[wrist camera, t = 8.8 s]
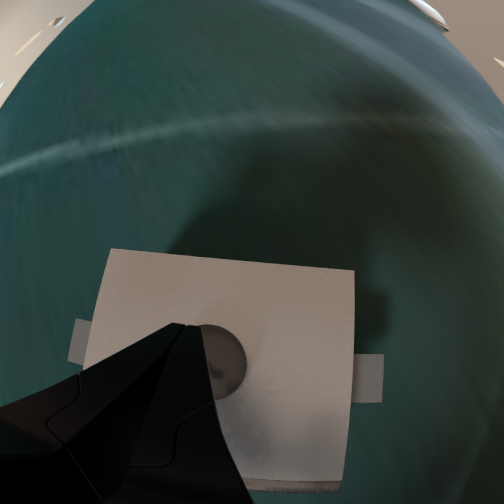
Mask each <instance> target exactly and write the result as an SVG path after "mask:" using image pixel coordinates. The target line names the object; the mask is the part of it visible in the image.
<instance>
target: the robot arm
mask: <svg viewBox="0 0 504 504" xmlns="http://www.w3.org/2000/svg"><path fill="white" fill-rule="evenodd" d="M0 504H255V502H254V501H253V499H252V497H251V495H250V493H249V491H248V489H247V487H246V485H245V483H244V481H243V479H242V477H241V475H240V473H239V470H238V468H237V466H236V464H235V462H234V459H233V457H232V455H231V453H230V450H229V448H228V445H227V443H226V440H225V437H224V435H223V432H222V428H221V424H220V420H219V416H218V411H217V407H216V402H215V397H214V392H213V387H212V381H211V376H210V371H209V365H208V359H207V354H206V348H205V342H204V336H203V330H202V327H201V326H196V325H187V326H186V325H185V324H181V323H174V322H172V323H170V324H168V325H166V326H164V327H162V328H161V329H159V330H157V331H155V332H153V333H152V334H150V335H148V336H146V337H144V338H142V339H141V340H139V341H137V342H135V343H133V344H131V345H129V346H128V347H126V348H124V349H122V350H120V351H118V352H117V353H115V354H113V355H111V356H109V357H107V358H105V359H103V360H102V361H100V362H98V363H96V364H94V365H92V366H90V367H88V368H87V369H85V370H83V371H81V372H79V374H75V375H73V376H71V377H69V378H67V379H65V380H63V381H61V382H59V383H57V384H55V385H53V386H51V387H49V388H47V389H44V390H42V391H40V392H37V393H35V394H32V395H30V396H27V397H25V398H22V399H20V400H17V401H14V402H12V403H9V404H6V405H4V406H1V407H0Z"/></svg>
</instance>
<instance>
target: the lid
mask: <svg viewBox="0 0 504 504" xmlns="http://www.w3.org/2000/svg"><path fill="white" fill-rule="evenodd" d="M354 313H355V291H354V271H353V270H341V269H329V268H317V267H306V266H294V265H283V264H271V263H260V262H249V261H238V260H227V259H216V258H206V257H195V256H184V255H174V254H164V253H153V252H143V251H133V250H123V249H113V248H111V251H110V254H109V258H108V261H107V265H106V268H105V272H104V275H103V279H102V283H101V287H100V291H99V295H98V299H97V303H96V307H95V311H94V316H93V320H92V325H91V329H90V334H89V339H88V344H87V349H86V355H85V360H84V366H83V370H85V369H87V368H88V367H90V366H92V365H94V364H96V363H98V362H100V361H102V360H103V359H105V358H107V357H109V356H111V355H113V354H115V353H117V352H118V351H120V350H122V349H124V348H126V347H128V346H129V345H131V344H133V343H135V342H137V341H139V340H141V339H142V338H144V337H146V336H148V335H150V334H152V333H153V332H155V331H157V330H159V329H161V328H162V327H164V326H166V325H168V324H170V323H172V322H174V323H181V324H185V325H186V326H187V325H196V326H201V327H202V330H203V336H204V342H205V348H206V354H207V359H208V365H209V371H210V376H211V381H212V387H213V392H214V397H215V402H216V407H217V411H218V416H219V420H220V424H221V428H222V432H223V435H224V437H225V440H226V443H227V445H228V448H229V450H230V453H231V455H232V457H233V459H234V462H235V464H236V466H237V468H238V470H239V473H240V475H241V477H242V479H243V481H244V483H245V485H246V487H247V489H248V491H256V492H270V493H292V494H324V493H337V492H338V490H339V480H342V475H343V469H344V461H345V453H346V445H347V436H348V427H349V416H350V404H351V391H352V375H353V355H354Z"/></svg>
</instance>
